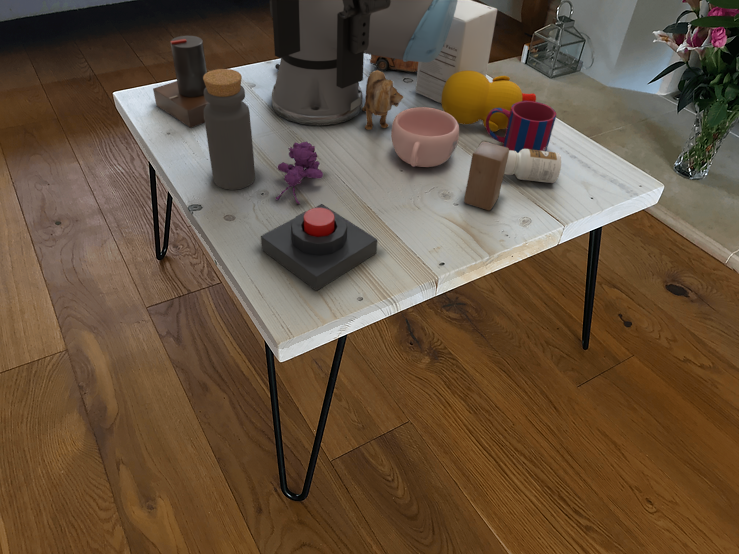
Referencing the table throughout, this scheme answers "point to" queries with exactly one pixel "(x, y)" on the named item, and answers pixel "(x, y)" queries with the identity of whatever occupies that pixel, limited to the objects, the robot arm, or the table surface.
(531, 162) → the pill bottle
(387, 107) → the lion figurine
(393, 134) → the mug
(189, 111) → the dial panel
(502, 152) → the wooden block
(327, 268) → the switch base
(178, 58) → the dial
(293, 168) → the purple lumpy piece
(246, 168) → the bottle
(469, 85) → the toy
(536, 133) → the cup
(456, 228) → the table surface
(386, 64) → the toy car
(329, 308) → the table surface
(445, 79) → the white product box
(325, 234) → the switch
